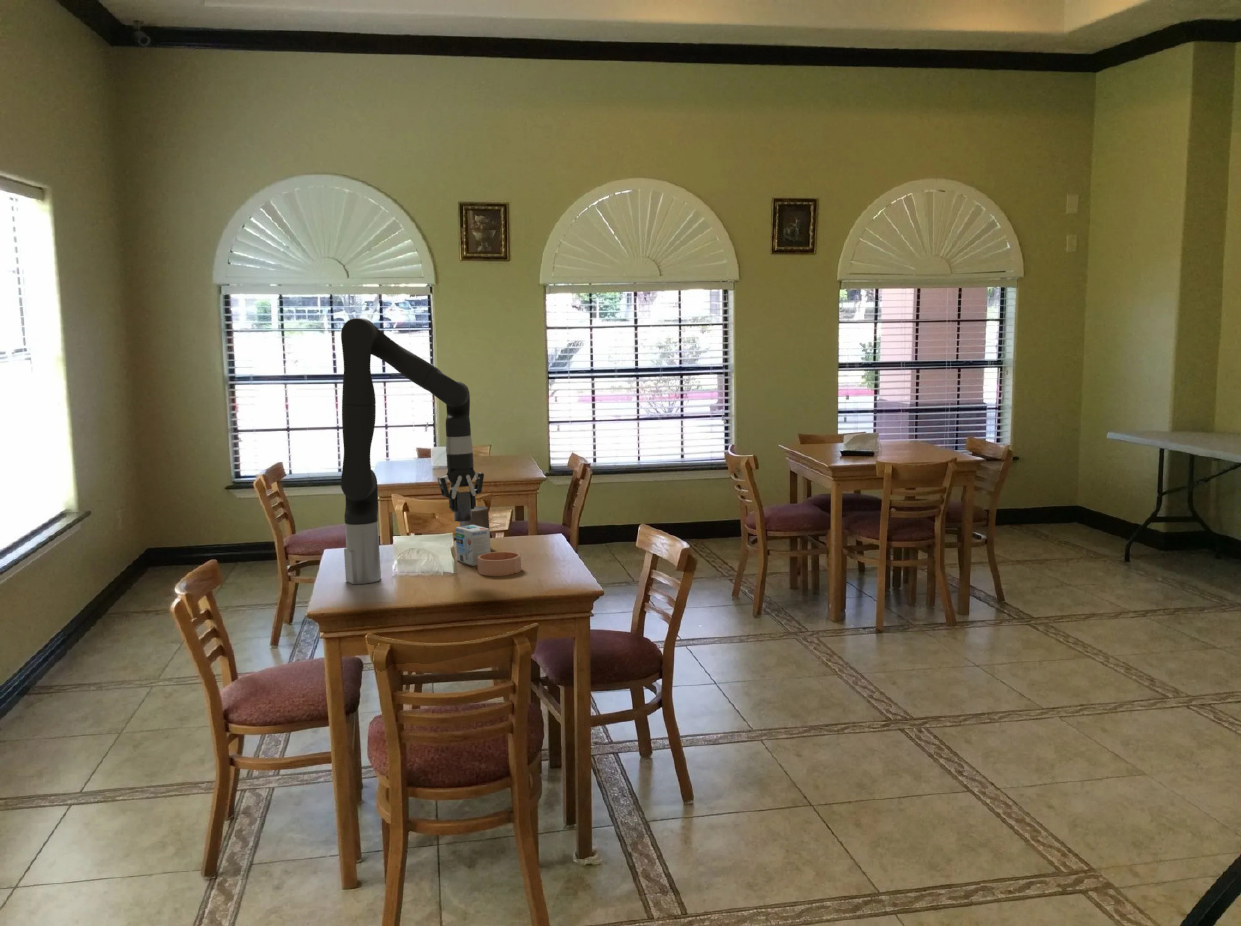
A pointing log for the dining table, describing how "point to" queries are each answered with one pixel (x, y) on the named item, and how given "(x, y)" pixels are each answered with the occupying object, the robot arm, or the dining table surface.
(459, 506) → the black cell
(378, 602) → the dining table surface
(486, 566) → the pink round dish
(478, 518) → the pillar candle
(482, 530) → the light bulb box
